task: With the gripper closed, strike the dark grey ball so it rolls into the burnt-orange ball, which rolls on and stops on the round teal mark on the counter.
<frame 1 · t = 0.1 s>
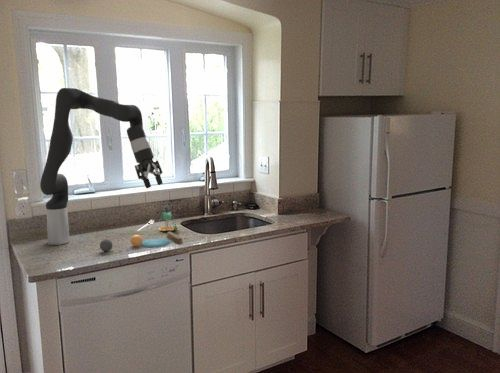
hand: (154, 186, 187), 31 cm above the worktop, fingers open, 8 cm apart
dark grey ball: (106, 245, 200), on the worktop
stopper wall: (174, 239, 218), on the worktop
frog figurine: (168, 231, 235), on the worktop
object ball: (136, 240, 207), on the worktop
fork: (145, 227, 243), on the worktop
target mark: (155, 243, 212), on the worktop
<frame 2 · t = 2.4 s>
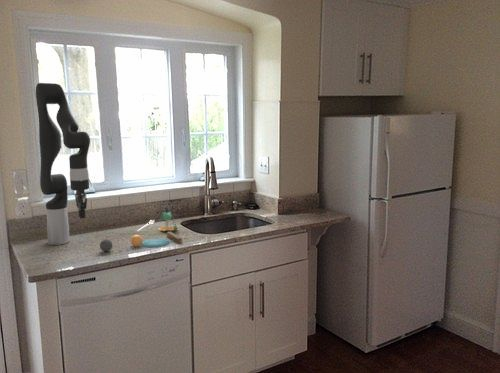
hand: (82, 217, 192), 17 cm above the worktop, fingers closed
nothing on the worktop moved.
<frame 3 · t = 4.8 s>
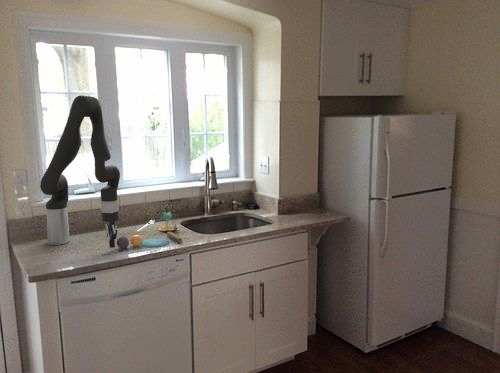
hand: (112, 247, 201), 2 cm above the worktop, fingers closed
dark grey ball: (122, 242, 204), on the worktop
everything else where it was.
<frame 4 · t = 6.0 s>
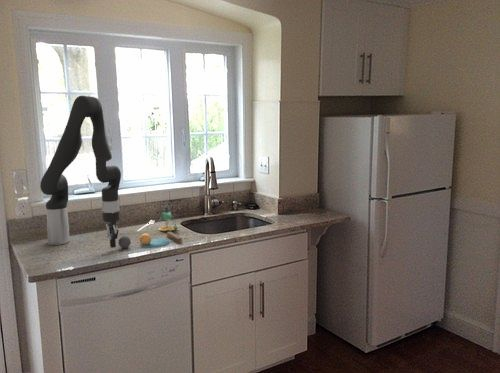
hand: (113, 247, 202), 2 cm above the worktop, fingers closed
dark grey ball: (124, 242, 205), on the worktop
object ball: (145, 239, 209), on the worktop
everything else where it was.
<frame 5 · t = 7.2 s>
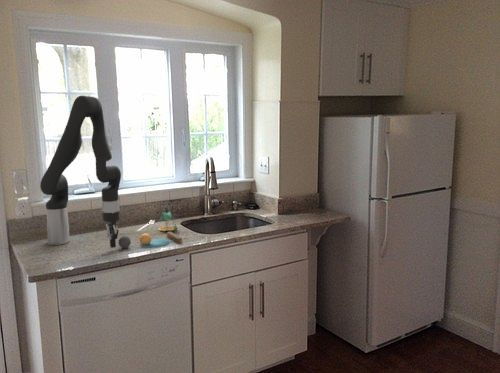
hand: (113, 247, 202), 2 cm above the worktop, fingers closed
nothing on the worktop moved.
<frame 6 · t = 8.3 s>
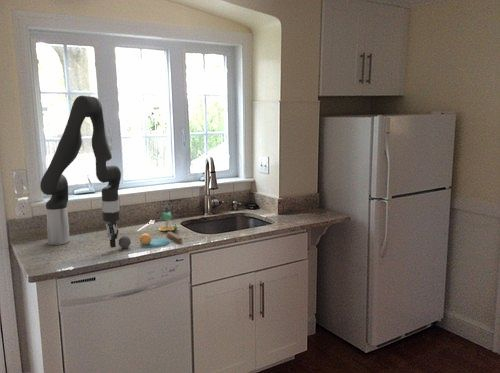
hand: (112, 246, 202), 2 cm above the worktop, fingers closed
nothing on the worktop moved.
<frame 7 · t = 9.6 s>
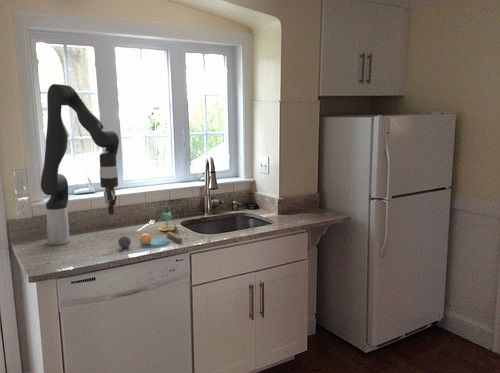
hand: (111, 214, 199), 17 cm above the worktop, fingers closed
nothing on the worktop moved.
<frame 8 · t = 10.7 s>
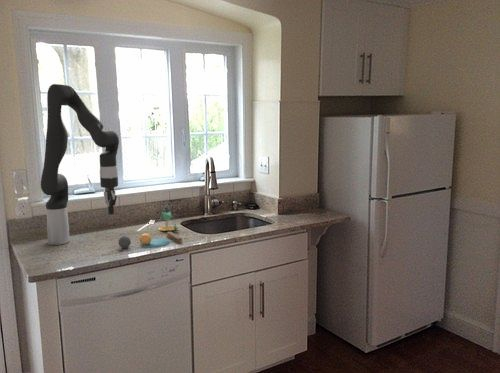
hand: (111, 214, 199), 17 cm above the worktop, fingers closed
nothing on the worktop moved.
at the end: object ball 4.6 cm from the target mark (horizontally); object ball never touched the robot; dark grey ball first touched object ball at 4.8 s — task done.
